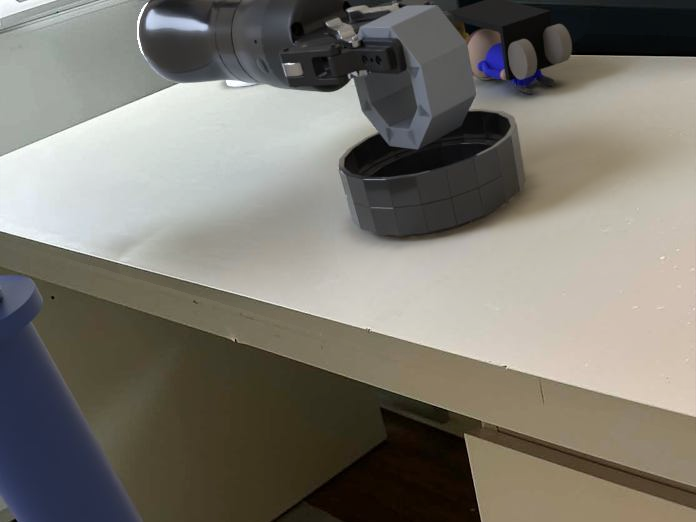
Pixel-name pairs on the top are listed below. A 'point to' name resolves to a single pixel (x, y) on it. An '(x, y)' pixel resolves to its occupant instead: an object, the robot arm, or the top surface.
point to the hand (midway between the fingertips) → (427, 43)
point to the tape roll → (418, 78)
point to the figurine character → (513, 42)
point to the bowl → (434, 177)
